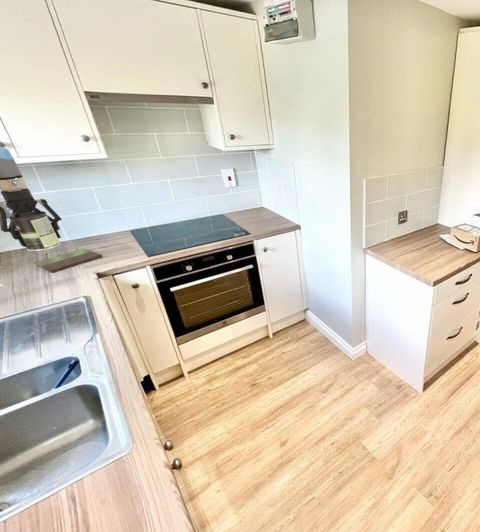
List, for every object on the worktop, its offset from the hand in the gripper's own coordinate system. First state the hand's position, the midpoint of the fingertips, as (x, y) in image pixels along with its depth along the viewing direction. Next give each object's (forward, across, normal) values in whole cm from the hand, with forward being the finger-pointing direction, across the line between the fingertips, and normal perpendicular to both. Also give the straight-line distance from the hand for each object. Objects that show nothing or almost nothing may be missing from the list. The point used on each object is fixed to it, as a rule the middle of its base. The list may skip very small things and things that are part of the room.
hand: (41, 241), depth 135 cm
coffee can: (+2, 0, 0) cm, 2 cm away
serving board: (+20, +11, +23) cm, 32 cm away
